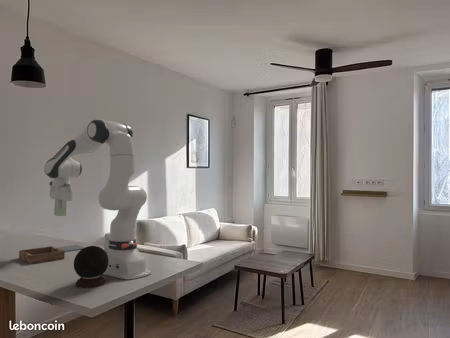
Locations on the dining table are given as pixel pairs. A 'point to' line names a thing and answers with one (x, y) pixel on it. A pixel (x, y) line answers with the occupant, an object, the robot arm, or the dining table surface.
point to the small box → (106, 242)
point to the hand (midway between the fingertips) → (60, 207)
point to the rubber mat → (71, 248)
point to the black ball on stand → (90, 266)
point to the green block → (59, 208)
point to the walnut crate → (41, 254)
